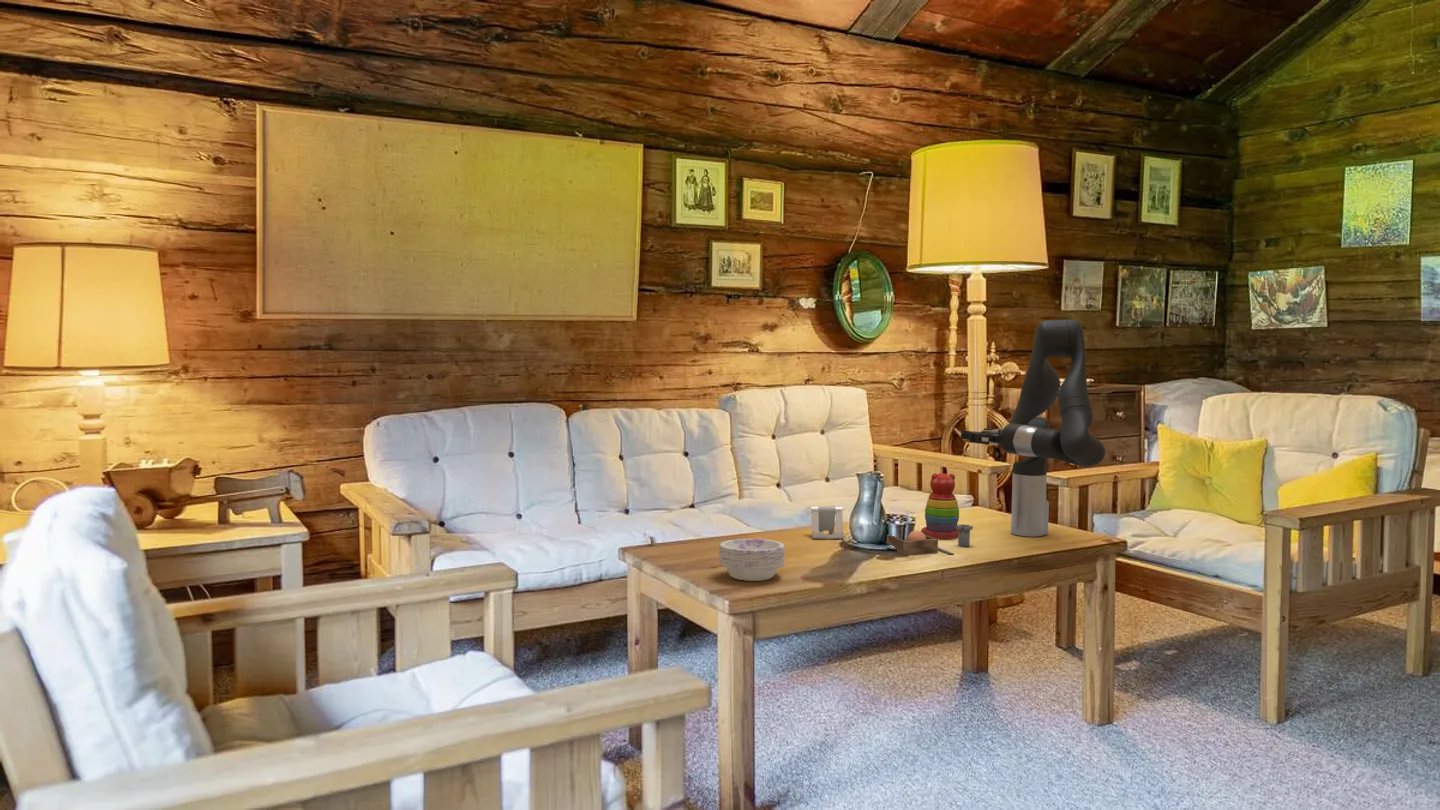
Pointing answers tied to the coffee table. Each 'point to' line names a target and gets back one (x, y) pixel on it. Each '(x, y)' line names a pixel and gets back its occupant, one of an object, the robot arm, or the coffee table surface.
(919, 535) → the ball
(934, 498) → the stacking bear
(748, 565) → the paper bowls
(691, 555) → the coffee table surface
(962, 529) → the tee
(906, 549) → the shallow wooden crate
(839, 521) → the portable electronic device stand
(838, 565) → the coffee table surface
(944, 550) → the finish line
